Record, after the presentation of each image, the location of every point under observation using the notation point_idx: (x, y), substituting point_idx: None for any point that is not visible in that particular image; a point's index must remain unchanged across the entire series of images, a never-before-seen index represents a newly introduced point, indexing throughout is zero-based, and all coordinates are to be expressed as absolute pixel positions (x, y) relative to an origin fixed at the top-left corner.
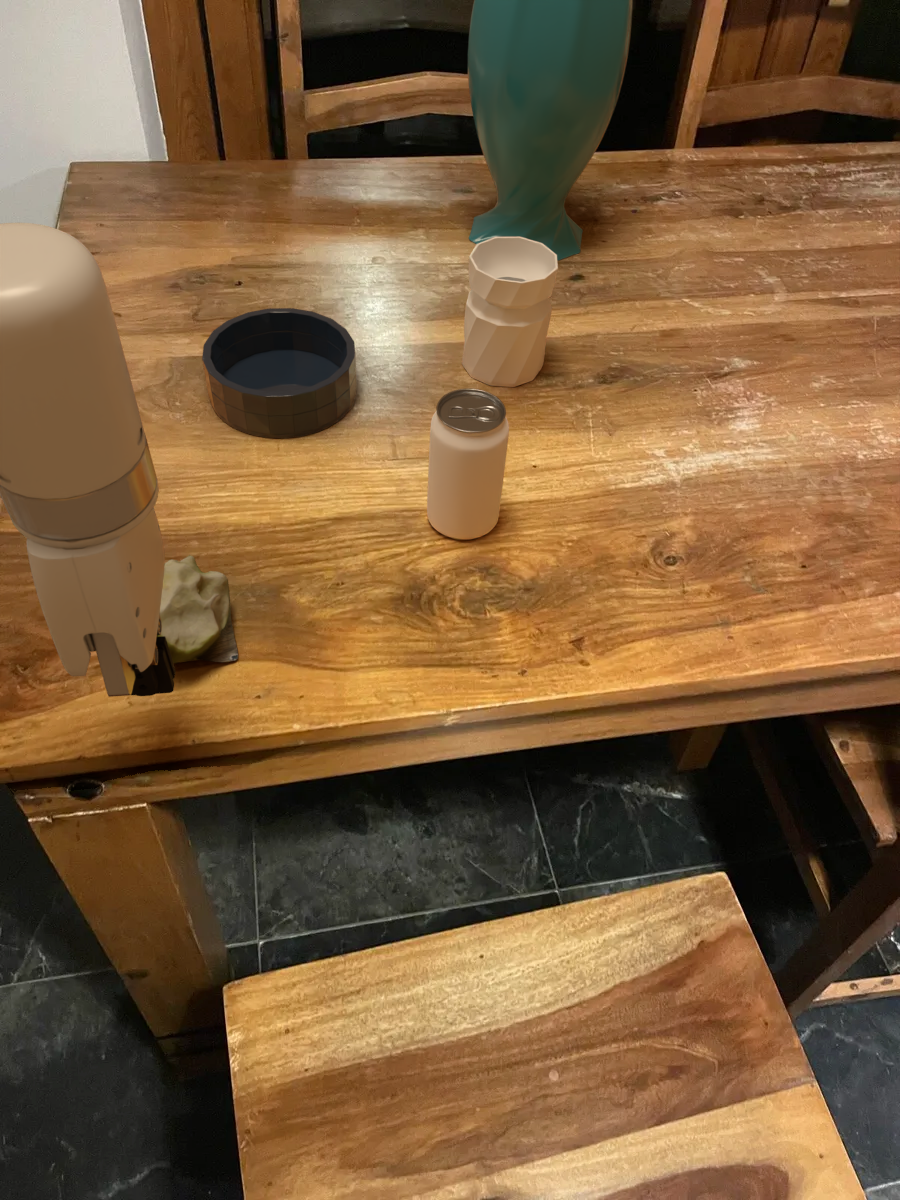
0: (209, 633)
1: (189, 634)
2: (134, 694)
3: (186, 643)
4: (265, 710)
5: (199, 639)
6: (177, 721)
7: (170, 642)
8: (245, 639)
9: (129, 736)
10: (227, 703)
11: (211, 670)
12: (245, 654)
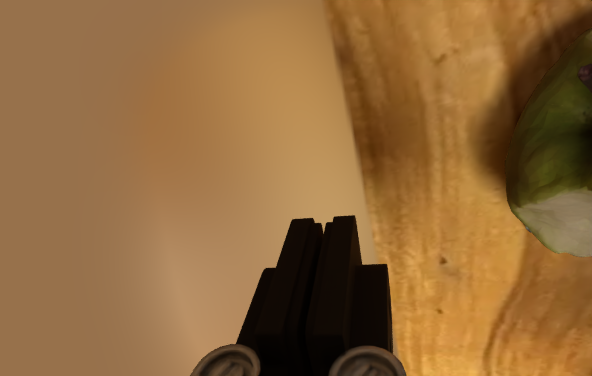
0: (564, 246)
1: (562, 220)
2: (266, 268)
3: (537, 213)
4: (415, 271)
5: (549, 229)
6: (395, 152)
7: (528, 205)
8: None
9: (361, 76)
10: (432, 221)
11: None
12: None
